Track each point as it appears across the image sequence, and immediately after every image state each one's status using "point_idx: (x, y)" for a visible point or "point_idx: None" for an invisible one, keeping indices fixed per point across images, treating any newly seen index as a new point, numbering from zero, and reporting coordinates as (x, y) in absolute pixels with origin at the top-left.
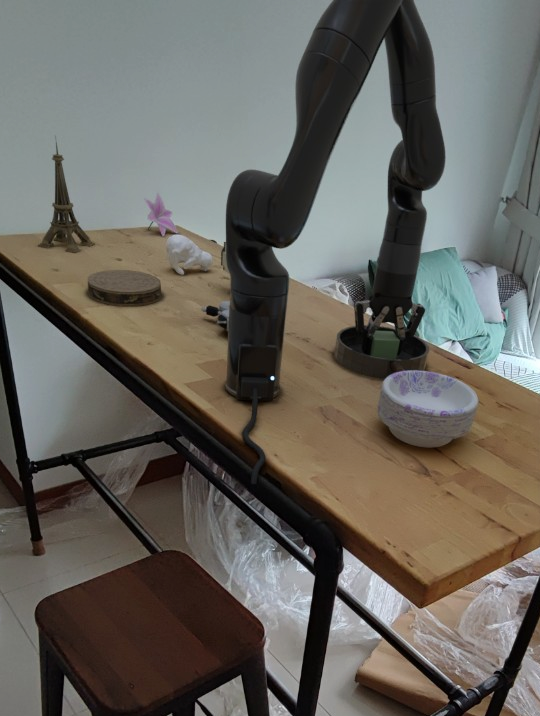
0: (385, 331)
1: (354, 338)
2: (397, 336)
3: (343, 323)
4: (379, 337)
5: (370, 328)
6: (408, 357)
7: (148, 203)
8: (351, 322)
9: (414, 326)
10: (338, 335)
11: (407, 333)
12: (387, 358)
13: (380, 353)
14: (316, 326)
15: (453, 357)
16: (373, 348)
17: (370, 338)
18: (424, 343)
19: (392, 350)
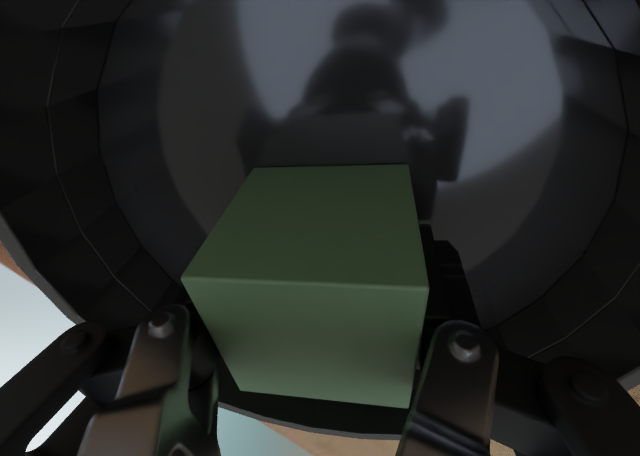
0: (289, 393)
1: (418, 376)
2: (205, 339)
3: (388, 441)
4: (362, 326)
5: (490, 425)
6: (186, 260)
7: None
8: (361, 442)
9: (2, 417)
10: (631, 381)
11: (114, 355)
12: (296, 188)
13: (351, 205)
14: (491, 439)
15: (25, 275)
16: (418, 230)
17: (437, 326)
18: (57, 298)
19: (257, 221)
